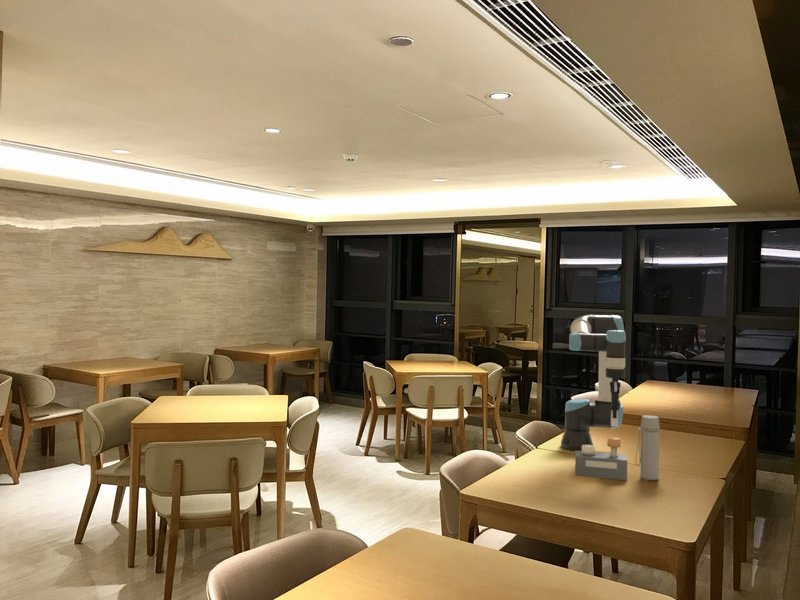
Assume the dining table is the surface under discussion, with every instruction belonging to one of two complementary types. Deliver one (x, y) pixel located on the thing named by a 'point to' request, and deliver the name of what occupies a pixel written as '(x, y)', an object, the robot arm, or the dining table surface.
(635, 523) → the dining table surface
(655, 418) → the water bottle
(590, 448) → the knob
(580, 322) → the robot arm
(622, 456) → the console
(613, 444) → the knob
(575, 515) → the dining table surface
